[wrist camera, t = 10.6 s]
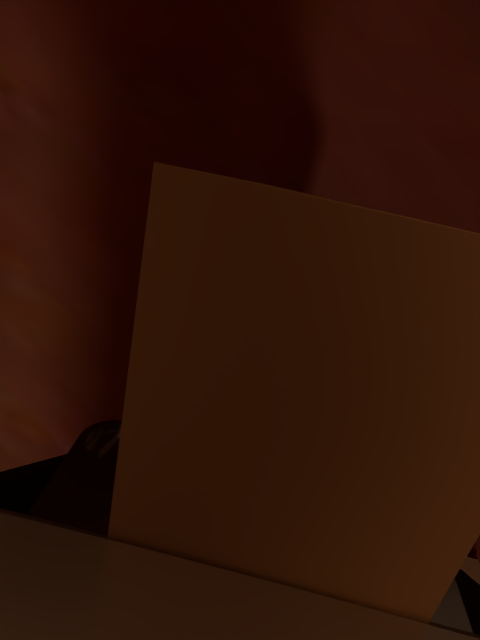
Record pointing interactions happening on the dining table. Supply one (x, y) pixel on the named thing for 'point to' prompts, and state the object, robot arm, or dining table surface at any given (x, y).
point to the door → (303, 392)
